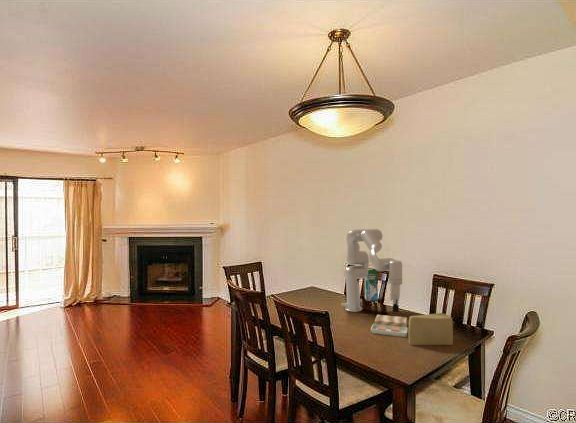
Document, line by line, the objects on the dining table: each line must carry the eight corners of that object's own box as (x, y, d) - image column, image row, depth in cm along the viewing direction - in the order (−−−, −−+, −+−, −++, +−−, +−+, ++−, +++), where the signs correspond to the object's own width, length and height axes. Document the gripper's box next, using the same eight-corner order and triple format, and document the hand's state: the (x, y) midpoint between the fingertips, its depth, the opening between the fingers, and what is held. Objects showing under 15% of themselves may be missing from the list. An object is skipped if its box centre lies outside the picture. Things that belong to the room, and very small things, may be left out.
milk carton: (376, 298, 271) (375, 267, 271) (377, 300, 262) (377, 269, 262) (364, 298, 272) (364, 267, 272) (366, 300, 263) (365, 269, 263)
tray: (370, 333, 193) (370, 329, 193) (373, 327, 202) (373, 323, 202) (406, 337, 185) (406, 333, 185) (407, 331, 194) (407, 327, 194)
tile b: (392, 326, 195) (392, 330, 195) (391, 329, 191) (391, 332, 191) (399, 327, 193) (400, 331, 193) (399, 330, 189) (399, 333, 189)
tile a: (378, 326, 197) (378, 329, 197) (377, 328, 193) (377, 331, 193) (386, 326, 195) (386, 330, 195) (385, 329, 191) (385, 332, 191)
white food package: (374, 327, 202) (374, 320, 202) (377, 321, 213) (377, 314, 213) (405, 331, 195) (405, 323, 195) (407, 324, 206) (406, 317, 206)
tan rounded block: (413, 348, 170) (412, 319, 170) (405, 341, 180) (404, 313, 180) (454, 345, 172) (453, 317, 172) (443, 338, 182) (442, 311, 182)
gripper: (390, 278, 206) (390, 307, 206) (387, 283, 192) (387, 314, 192) (403, 278, 203) (403, 308, 203) (401, 284, 189) (401, 316, 189)
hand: (395, 311), depth 198 cm, fingers closed
